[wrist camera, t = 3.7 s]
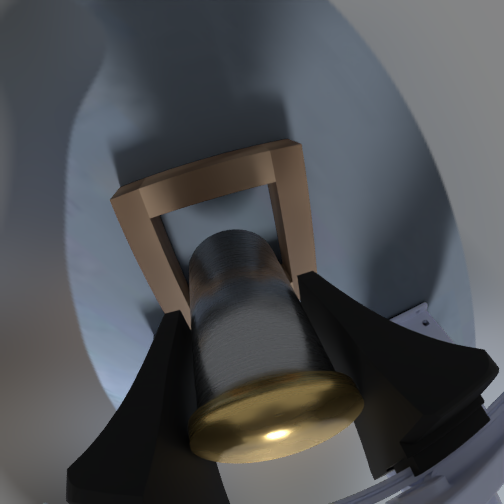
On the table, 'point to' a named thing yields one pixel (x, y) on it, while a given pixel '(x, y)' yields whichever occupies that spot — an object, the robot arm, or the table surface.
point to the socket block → (209, 187)
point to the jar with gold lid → (257, 358)
